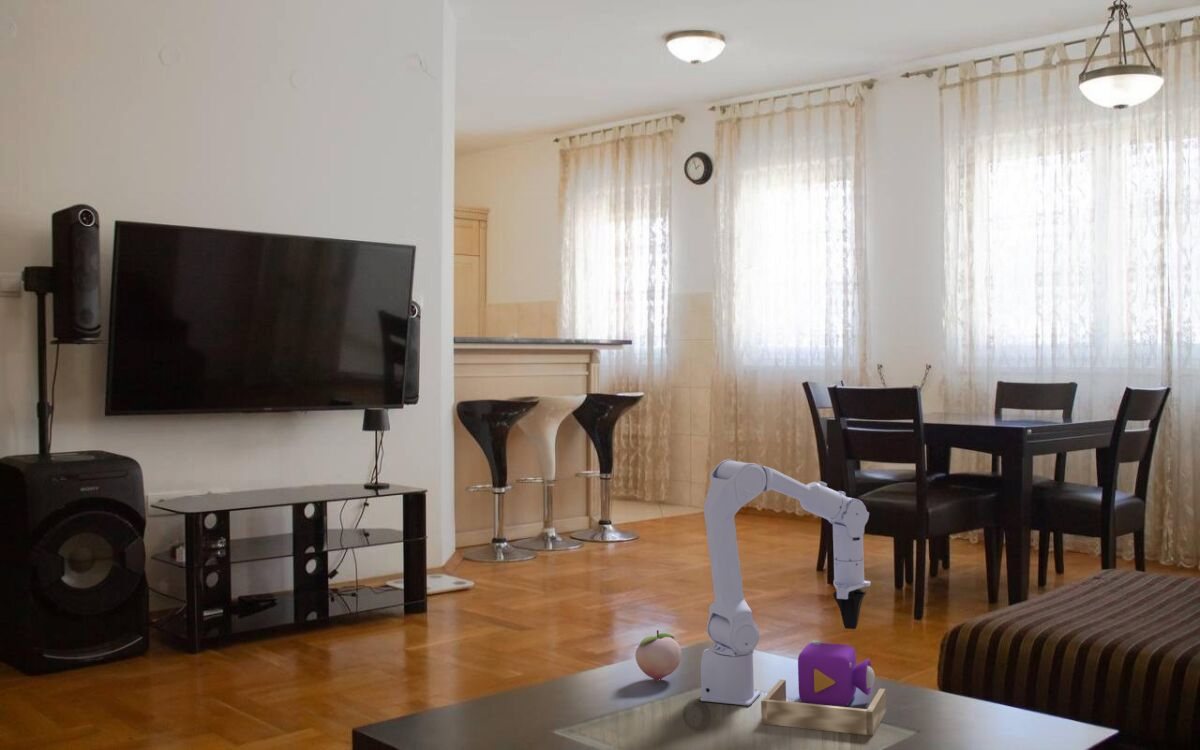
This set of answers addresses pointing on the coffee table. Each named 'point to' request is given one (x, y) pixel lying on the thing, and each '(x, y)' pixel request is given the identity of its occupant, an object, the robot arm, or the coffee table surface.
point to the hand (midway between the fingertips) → (850, 628)
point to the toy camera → (832, 674)
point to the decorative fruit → (658, 655)
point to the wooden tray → (821, 713)
